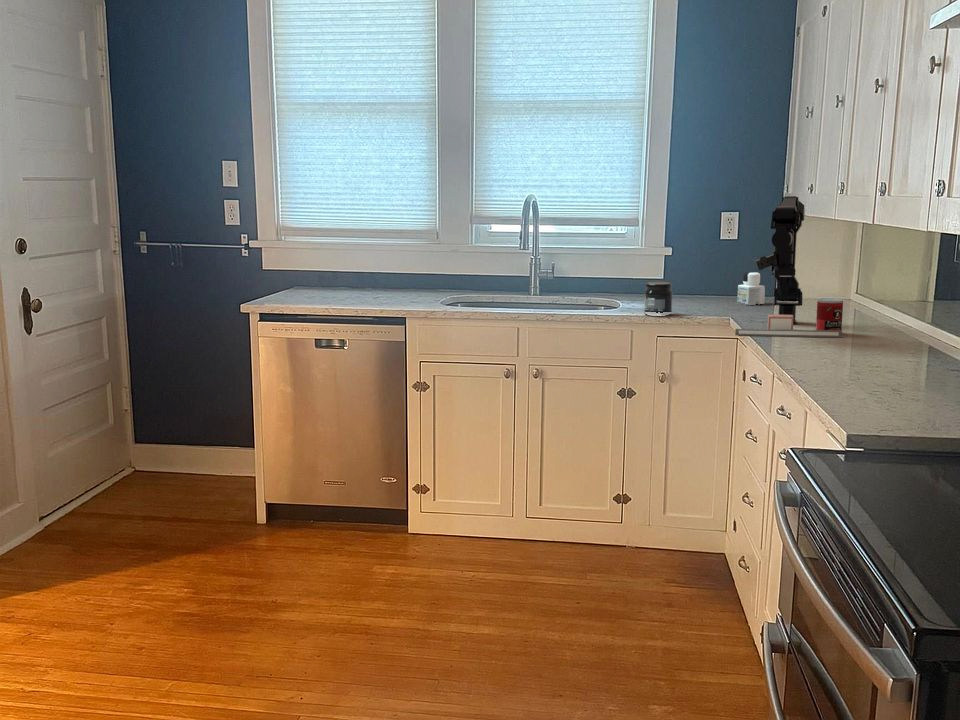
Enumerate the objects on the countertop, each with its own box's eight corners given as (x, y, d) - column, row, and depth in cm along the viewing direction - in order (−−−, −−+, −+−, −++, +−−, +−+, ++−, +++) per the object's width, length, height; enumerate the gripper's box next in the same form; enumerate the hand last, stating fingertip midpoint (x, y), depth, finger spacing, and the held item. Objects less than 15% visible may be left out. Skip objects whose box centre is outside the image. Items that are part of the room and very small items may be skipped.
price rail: (735, 334, 286) (735, 328, 286) (841, 336, 278) (841, 330, 278) (735, 335, 285) (735, 329, 285) (841, 337, 277) (842, 331, 277)
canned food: (826, 336, 280) (827, 301, 278) (810, 332, 288) (812, 298, 286) (846, 334, 282) (848, 300, 280) (830, 331, 290) (832, 297, 288)
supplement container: (670, 312, 340) (671, 281, 338) (673, 316, 330) (674, 284, 327) (642, 313, 341) (643, 281, 339) (644, 316, 331) (645, 284, 328)
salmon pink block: (767, 332, 290) (767, 314, 289) (791, 333, 288) (792, 314, 287) (768, 335, 285) (768, 316, 284) (792, 335, 283) (793, 317, 282)
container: (736, 303, 362) (738, 272, 360) (753, 302, 365) (754, 271, 362) (747, 306, 355) (749, 273, 353) (764, 304, 357) (765, 272, 355)
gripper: (755, 245, 292) (753, 292, 295) (758, 248, 274) (756, 299, 277) (791, 245, 289) (789, 293, 292) (796, 248, 272) (794, 299, 275)
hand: (781, 296), depth 284 cm, fingers open, 9 cm apart
